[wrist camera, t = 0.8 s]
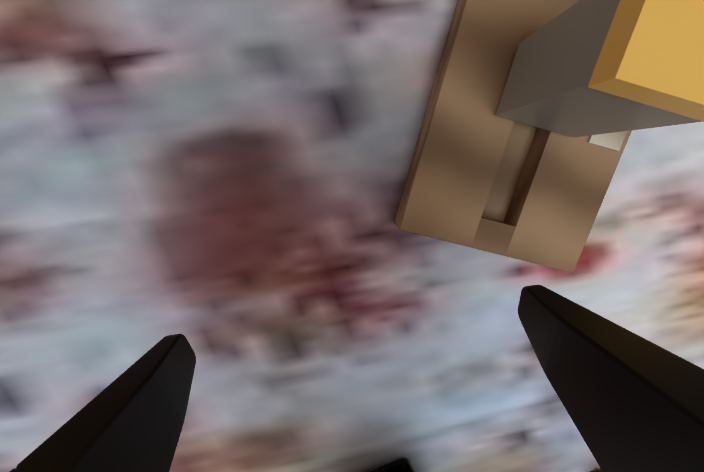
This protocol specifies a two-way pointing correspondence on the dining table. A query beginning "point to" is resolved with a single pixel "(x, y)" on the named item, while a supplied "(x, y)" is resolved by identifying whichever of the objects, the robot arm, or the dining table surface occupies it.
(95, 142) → the dining table surface
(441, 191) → the wooden slotted board
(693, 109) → the switch handle
